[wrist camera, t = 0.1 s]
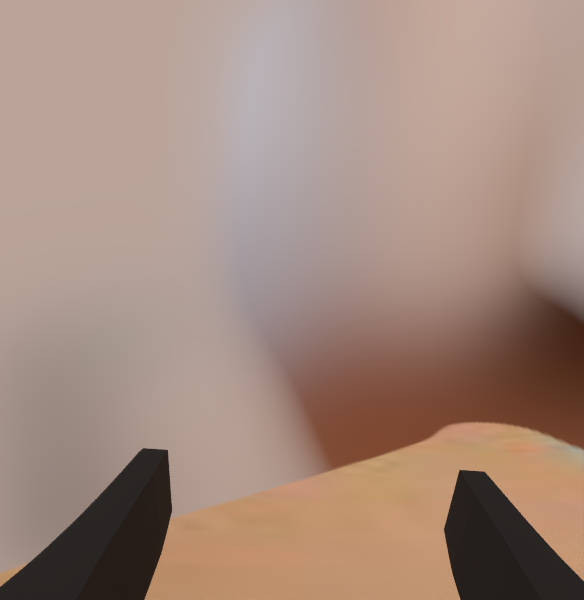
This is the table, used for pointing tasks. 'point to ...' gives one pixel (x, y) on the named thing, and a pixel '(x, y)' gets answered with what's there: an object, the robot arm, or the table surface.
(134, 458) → the robot arm
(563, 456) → the table surface
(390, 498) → the table surface
